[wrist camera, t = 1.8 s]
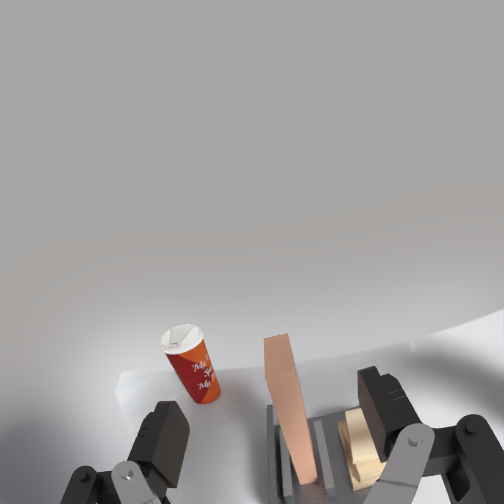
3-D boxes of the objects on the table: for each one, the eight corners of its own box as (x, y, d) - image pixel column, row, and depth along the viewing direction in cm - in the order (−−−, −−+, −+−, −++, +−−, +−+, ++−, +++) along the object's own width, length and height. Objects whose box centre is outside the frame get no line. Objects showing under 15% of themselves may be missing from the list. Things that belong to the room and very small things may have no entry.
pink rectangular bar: (296, 452, 31) (264, 338, 25) (313, 449, 30) (287, 333, 25) (300, 484, 25) (265, 377, 20) (318, 481, 25) (294, 371, 20)
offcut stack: (337, 428, 33) (335, 408, 31) (378, 416, 32) (379, 395, 31) (353, 491, 22) (353, 475, 21) (401, 475, 22) (407, 457, 20)
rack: (275, 430, 37) (266, 405, 35) (378, 405, 35) (380, 377, 34) (280, 527, 20) (269, 513, 19) (414, 493, 19) (425, 473, 17)
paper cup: (223, 406, 44) (195, 344, 40) (183, 409, 45) (151, 349, 41) (228, 378, 52) (205, 318, 48) (192, 382, 53) (166, 325, 49)
